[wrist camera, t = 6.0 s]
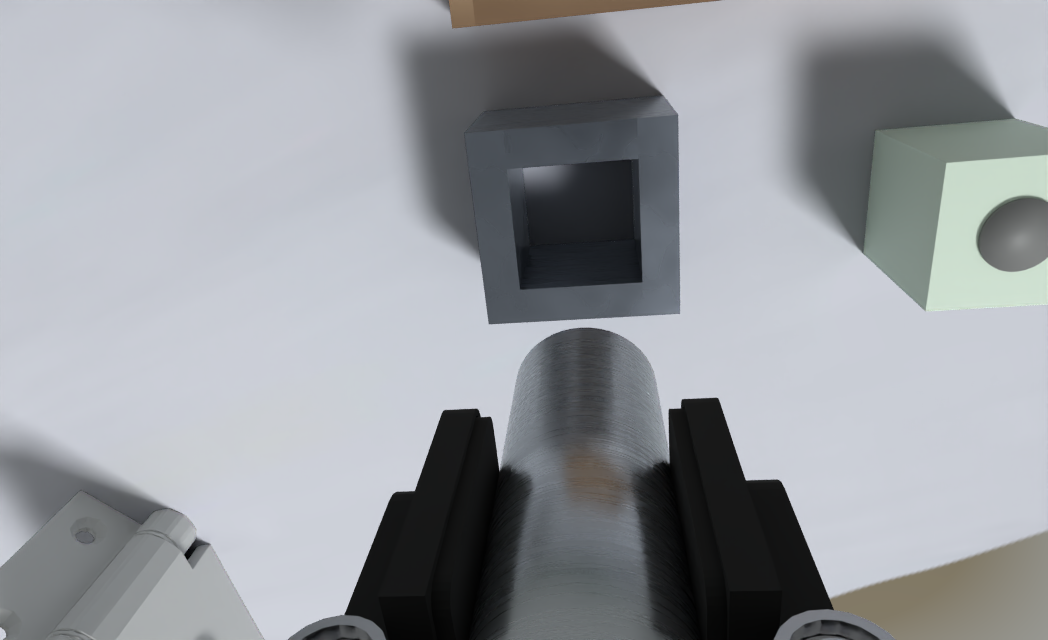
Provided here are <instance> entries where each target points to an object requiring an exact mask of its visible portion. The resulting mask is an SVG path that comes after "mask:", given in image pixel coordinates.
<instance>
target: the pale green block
mask: <svg viewBox="0 0 1048 640" xmlns="http://www.w3.org/2000/svg"><path fill="white" fill-rule="evenodd" d="M863 254H864V255H865V256H866V257H867V258H869V259H870V260H871V261H872V262H873V263H874V264H875V265H876V266H877V267H878V268H879V269H880V270H881V271H883V272H884V273H885V274H886V275H887V276H888V277H889V278H890V279H891V280H892V281H893V282H894V283H895V284H897V285H898V286H899V287H900V288H901V289H902V290H903V291H904V292H905V293H906V294H907V295H908V296H910V297H911V298H912V299H913V300H914V301H915V302H916V303H917V304H918V305H919V306H920V307H921V308H922V309H924V310H925V311H942V310H960V309H978V308H995V307H1013V306H1031V305H1048V128H1047V127H1043V126H1040V125H1036V124H1033V123H1029V122H1026V121H1022V120H1019V119H1015V118H1014V119H1002V120H991V121H979V122H967V123H955V124H943V125H931V126H919V127H908V128H896V129H884V130H875V138H874V148H873V158H872V169H871V179H870V189H869V199H868V209H867V219H866V230H865V240H864V250H863Z"/></svg>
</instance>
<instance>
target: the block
mask: <svg viewBox="0 0 1048 640" xmlns="http://www.w3.org/2000/svg"><path fill="white" fill-rule="evenodd" d="M464 136H465V144H466V152H467V160H468V167H469V175H470V183H471V190H472V198H473V206H474V213H475V221H476V229H477V237H478V244H479V252H480V260H481V267H482V275H483V283H484V290H485V298H486V306H487V314H488V321H489V324H503V323H521V322H539V321H557V320H575V319H593V318H612V317H630V316H648V315H666V314H680V258H679V153H678V114H677V113H676V111H675V110H674V109H673V107H672V106H671V105H670V103H669V102H668V101H667V99H666V98H665V97H664V96H663V95H661V96H650V97H639V98H628V99H617V100H606V101H595V102H584V103H573V104H562V105H551V106H540V107H529V108H518V109H506V110H495V111H484V112H483V113H482V115H481V116H480V117H479V118H478V119H477V120H476V121H475V122H474V123H473V124H472V125H471V126H470V128H469V129H468V130H467V131H466V132H465V133H464ZM627 159H631V160H632V187H633V215H634V239H627V240H613V241H598V242H583V243H568V244H553V245H539V246H530V238H529V228H528V217H527V207H526V197H525V187H524V177H523V168H528V167H540V166H553V165H565V164H578V163H590V162H602V161H615V160H627Z"/></svg>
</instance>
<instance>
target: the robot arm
mask: <svg viewBox="0 0 1048 640" xmlns="http://www.w3.org/2000/svg"><path fill="white" fill-rule="evenodd" d="M669 458H670V468H671V474H672V480H673V485H674V491H675V496H676V502H677V507H678V513H679V518H680V524H681V530H682V535H683V541H684V546H685V552H686V557H687V563H688V569H689V574H690V580H691V585H692V591H693V596H694V602H695V608H696V613H697V619H698V624H699V630H700V635H701V640H895V639H894V638H893V637H892V636H891V635H890V634H889V633H888V632H887V631H885V630H883V629H882V628H880V627H878V626H877V625H876V624H874V623H872V622H871V621H869V620H867V619H864V618H861V617H859V616H856V615H853V614H851V613H848V612H841V611H835V610H834V609H833V607H832V604H831V602H830V599H829V597H828V594H827V592H826V589H825V587H824V584H823V582H822V579H821V577H820V575H819V572H818V570H817V567H816V565H815V562H814V560H813V557H812V555H811V552H810V550H809V547H808V545H807V542H806V540H805V538H804V535H803V533H802V530H801V528H800V525H799V523H798V520H797V518H796V515H795V513H794V510H793V508H792V506H791V503H790V501H789V498H788V496H787V493H786V491H785V488H784V486H783V485H782V483H781V482H780V481H779V480H749V481H746V480H745V477H744V474H743V471H742V468H741V465H740V462H739V459H738V456H737V453H736V450H735V447H734V444H733V441H732V438H731V435H730V432H729V429H728V426H727V423H726V420H725V417H724V414H723V411H722V408H721V405H720V402H719V399H718V398H701V399H682V402H681V409H669ZM498 477H499V465H498V458H497V450H496V443H495V436H494V429H493V422H492V419H491V417H481V416H480V413H479V410H478V409H459V410H444V411H443V413H442V415H441V418H440V421H439V423H438V426H437V429H436V432H435V435H434V438H433V441H432V443H431V446H430V449H429V452H428V455H427V458H426V461H425V464H424V466H423V469H422V472H421V475H420V478H419V481H418V484H417V487H416V489H415V491H409V492H396V493H394V494H393V495H392V497H391V499H390V501H389V503H388V505H387V508H386V511H385V513H384V516H383V518H382V521H381V523H380V526H379V528H378V531H377V533H376V536H375V539H374V541H373V544H372V546H371V549H370V551H369V554H368V556H367V559H366V561H365V564H364V567H363V569H362V572H361V574H360V577H359V579H358V582H357V584H356V587H355V589H354V592H353V595H352V597H351V600H350V602H349V605H348V607H347V610H346V612H345V615H340V616H335V617H330V618H324V619H322V620H319V621H317V622H315V623H312V624H310V625H308V626H306V627H304V628H303V629H301V630H300V631H298V632H297V633H295V634H294V635H293V636H291V637H290V638H289V639H288V640H469V635H470V630H471V624H472V619H473V614H474V608H475V603H476V597H477V592H478V586H479V581H480V575H481V570H482V565H483V559H484V554H485V548H486V543H487V537H488V532H489V526H490V521H491V516H492V510H493V505H494V499H495V494H496V488H497V483H498Z"/></svg>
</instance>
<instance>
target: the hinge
mask: <svg viewBox="0 0 1048 640" xmlns="http://www.w3.org/2000/svg"><path fill="white" fill-rule="evenodd" d="M79 532H88V533H90V534H91V535H92V536H93V538H94V541H93V542H92V543H82V542H80V541H78V540H77V538H76V534H77V533H79ZM195 539H196V528H195V526H194V525H193V523H192V522H191V521H190V520H189V518H188V517H187V516H185V515H183V514H181V513H179V512H176V511H174V510H172V509H163V510H157V511H154V512H153V513H152V514H151V515H150V516H149V518H148V519H147V520H146V521H145V522H144V524H143V525H142V524H139V523H138V522H136V521H134V520H132V519H131V518H129V517H127V516H125V515H124V514H122V513H120V512H118V511H117V510H115V509H113V508H112V507H110V506H108V505H106V504H105V503H103V502H101V501H99V500H98V499H96V498H94V497H92V496H91V495H89V494H87V493H85V492H84V491H82V490H80V491H79V492H78V493H77V494H76V495H75V496H74V497H73V498H72V499H71V500H70V501H69V502H68V503H67V504H66V505H65V506H64V507H63V508H62V509H61V510H60V511H59V512H58V513H57V514H55V515H54V516H53V517H52V518H51V519H50V520H49V521H48V522H47V523H46V524H45V525H44V526H43V527H42V528H41V529H40V530H39V531H38V532H37V533H36V534H35V535H34V536H33V537H32V538H31V539H30V540H29V541H28V542H27V543H25V544H24V545H23V546H22V547H21V548H20V549H19V550H18V551H17V552H16V553H15V554H14V555H13V556H12V557H11V558H10V559H9V560H8V561H7V562H6V563H5V564H4V565H3V566H2V567H1V568H0V627H1V628H3V629H4V630H5V632H6V638H4V639H3V640H264V638H263V636H262V635H261V633H260V631H259V629H258V627H257V626H256V624H255V622H254V620H253V619H252V617H251V615H250V613H249V611H248V610H247V608H246V606H245V604H244V603H243V601H242V599H241V597H240V595H239V594H238V592H237V590H236V588H235V587H234V585H233V583H232V581H231V579H230V578H229V576H228V574H227V572H226V571H225V569H224V567H223V565H222V563H221V562H220V560H219V558H218V556H217V555H216V553H215V551H214V549H213V547H212V546H211V544H207V545H202V546H198V547H197V548H196V549H195V551H194V552H193V554H192V555H191V556H190V558H189V559H188V561H187V559H186V558H185V556H184V554H185V553H186V551H187V550H188V549H189V547H190V546H191V545H192V544H193V543H194V542H195Z"/></svg>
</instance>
